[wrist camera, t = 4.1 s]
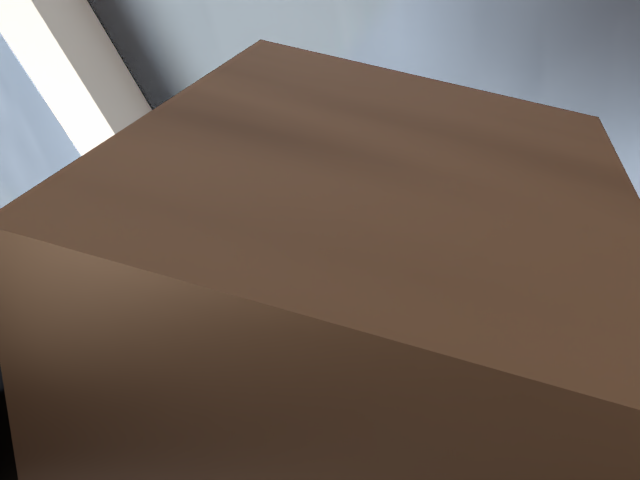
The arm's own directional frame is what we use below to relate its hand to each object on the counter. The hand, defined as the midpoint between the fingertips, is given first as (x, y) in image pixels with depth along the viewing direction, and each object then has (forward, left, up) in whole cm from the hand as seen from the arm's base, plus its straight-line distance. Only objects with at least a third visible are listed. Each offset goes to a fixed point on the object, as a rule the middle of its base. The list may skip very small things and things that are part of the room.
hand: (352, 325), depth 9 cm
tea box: (0, 0, -2) cm, 2 cm away
